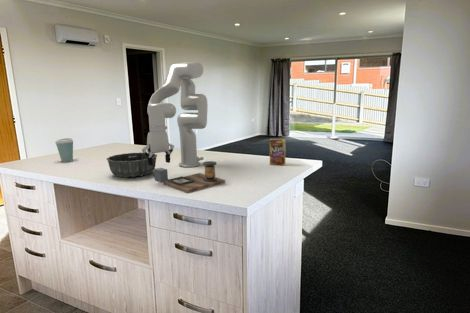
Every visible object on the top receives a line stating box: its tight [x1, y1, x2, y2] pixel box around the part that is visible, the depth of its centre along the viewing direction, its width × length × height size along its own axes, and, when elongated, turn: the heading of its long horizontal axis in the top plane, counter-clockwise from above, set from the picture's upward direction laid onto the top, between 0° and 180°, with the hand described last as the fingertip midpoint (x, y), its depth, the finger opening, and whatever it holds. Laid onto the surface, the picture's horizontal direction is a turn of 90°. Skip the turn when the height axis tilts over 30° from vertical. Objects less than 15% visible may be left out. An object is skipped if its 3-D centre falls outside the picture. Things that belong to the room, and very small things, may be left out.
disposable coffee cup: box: [54, 137, 74, 163], centre depth 214 cm, size 11×11×15 cm
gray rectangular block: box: [153, 167, 169, 184], centre depth 162 cm, size 4×6×6 cm, turn 43°
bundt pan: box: [106, 151, 158, 178], centre depth 177 cm, size 26×26×10 cm
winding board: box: [162, 160, 226, 194], centre depth 154 cm, size 22×20×10 cm
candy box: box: [269, 138, 287, 166], centre depth 190 cm, size 9×4×15 cm, turn 71°
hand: (159, 163), depth 160 cm, fingers open, 9 cm apart
